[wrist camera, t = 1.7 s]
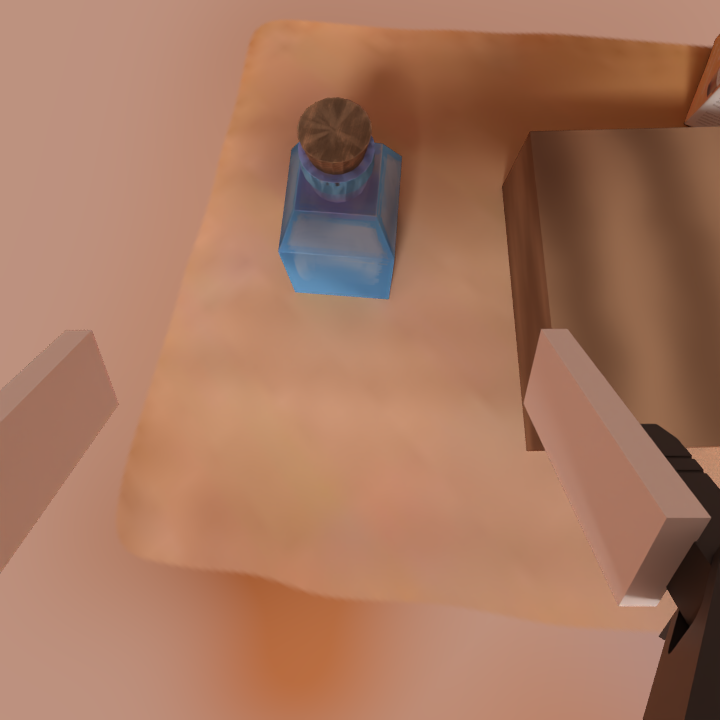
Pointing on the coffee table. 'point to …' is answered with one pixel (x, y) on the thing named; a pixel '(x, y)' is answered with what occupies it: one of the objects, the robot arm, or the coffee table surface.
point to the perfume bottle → (340, 205)
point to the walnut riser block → (623, 265)
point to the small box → (707, 94)
